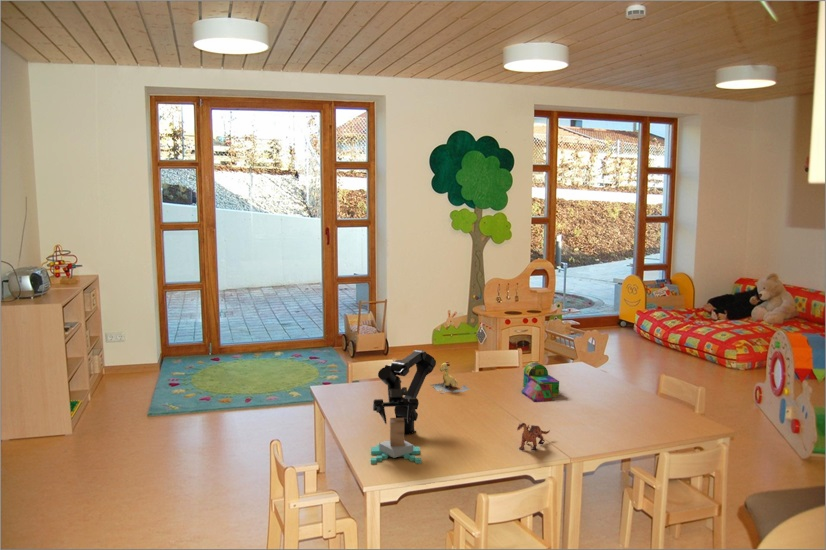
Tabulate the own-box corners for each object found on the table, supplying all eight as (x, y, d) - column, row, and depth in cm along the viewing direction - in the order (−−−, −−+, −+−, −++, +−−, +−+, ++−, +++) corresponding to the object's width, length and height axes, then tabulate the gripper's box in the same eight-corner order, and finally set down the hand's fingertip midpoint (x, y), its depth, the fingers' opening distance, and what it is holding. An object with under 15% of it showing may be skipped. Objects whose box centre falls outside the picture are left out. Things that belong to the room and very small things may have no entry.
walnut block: (390, 441, 272) (390, 417, 271) (403, 441, 273) (403, 417, 272) (390, 446, 267) (390, 422, 266) (404, 446, 267) (404, 422, 266)
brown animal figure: (508, 458, 268) (509, 422, 266) (533, 435, 294) (534, 402, 292) (528, 462, 264) (529, 426, 262) (551, 438, 289) (553, 405, 287)
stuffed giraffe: (430, 385, 365) (432, 357, 363) (460, 383, 371) (462, 356, 368) (440, 394, 350) (442, 366, 348) (471, 393, 356) (473, 364, 353)
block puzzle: (514, 387, 363) (515, 362, 361) (542, 385, 367) (543, 361, 365) (533, 402, 339) (534, 375, 337) (563, 399, 343) (564, 373, 341)
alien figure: (421, 465, 262) (418, 445, 282) (421, 459, 261) (418, 440, 281) (370, 465, 261) (371, 445, 281) (370, 460, 260) (371, 440, 280)
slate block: (398, 444, 277) (398, 437, 277) (413, 451, 269) (413, 444, 269) (379, 450, 271) (379, 443, 270) (393, 457, 263) (394, 450, 263)
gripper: (373, 380, 272) (375, 415, 263) (418, 379, 275) (421, 414, 265) (372, 393, 281) (374, 427, 272) (415, 391, 284) (418, 425, 274)
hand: (397, 423), depth 270 cm, fingers open, 9 cm apart
